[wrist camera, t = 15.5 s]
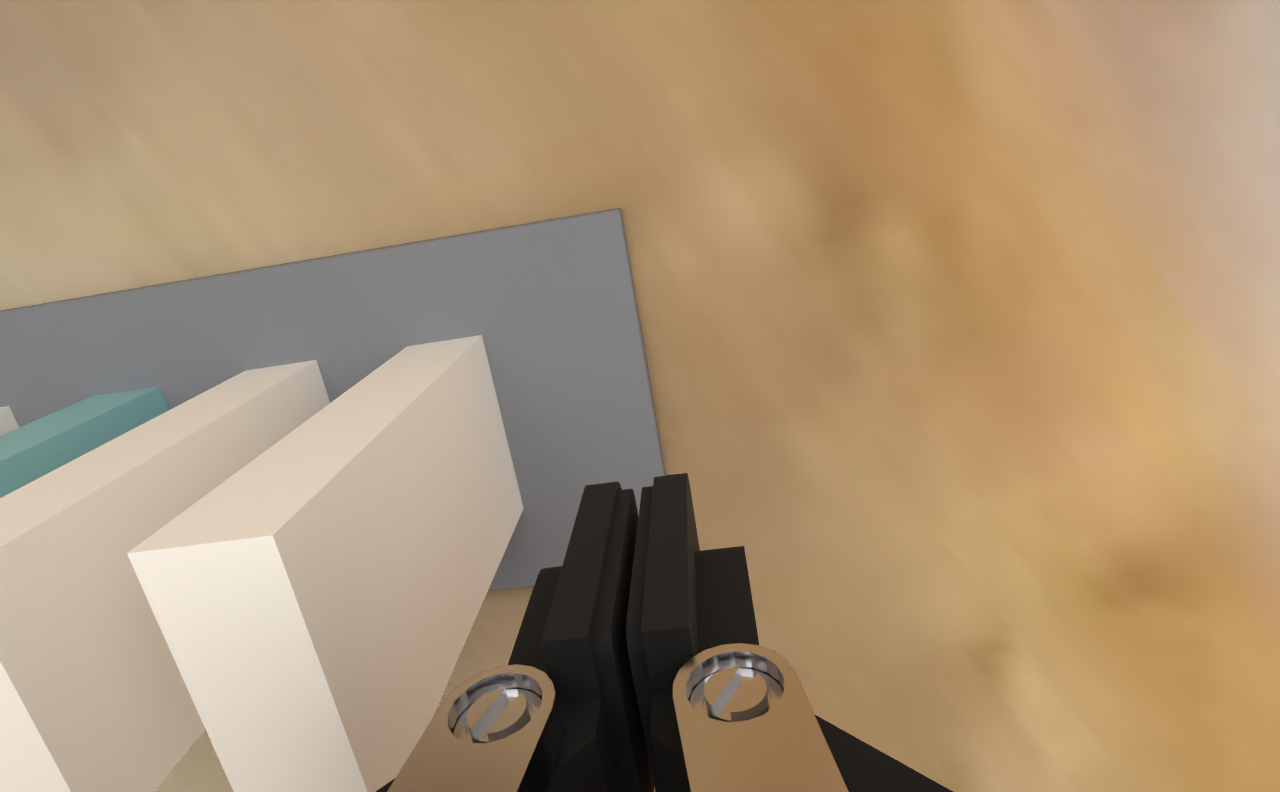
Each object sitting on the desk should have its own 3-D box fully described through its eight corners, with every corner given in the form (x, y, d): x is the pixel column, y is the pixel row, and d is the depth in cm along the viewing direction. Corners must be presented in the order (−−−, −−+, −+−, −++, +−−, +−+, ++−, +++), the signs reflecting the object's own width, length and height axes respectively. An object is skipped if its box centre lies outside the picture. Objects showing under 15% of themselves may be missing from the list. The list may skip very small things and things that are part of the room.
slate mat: (679, 558, 21) (679, 569, 20) (-159, 653, 24) (-180, 665, 23) (620, 207, 18) (619, 209, 17) (-339, 367, 21) (-367, 373, 20)
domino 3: (523, 508, 20) (383, 833, 11) (454, 517, 20) (256, 842, 11) (481, 334, 18) (272, 535, 9) (407, 346, 19) (126, 553, 9)
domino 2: (369, 527, 21) (104, 854, 11) (304, 535, 21) (-12, 862, 11) (316, 359, 19) (-48, 574, 10) (245, 370, 19) (-179, 591, 10)
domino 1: (222, 548, 21) (-151, 877, 12) (158, 555, 21) (-259, 884, 12) (159, 386, 19) (-333, 616, 10) (91, 396, 20) (-453, 629, 10)
